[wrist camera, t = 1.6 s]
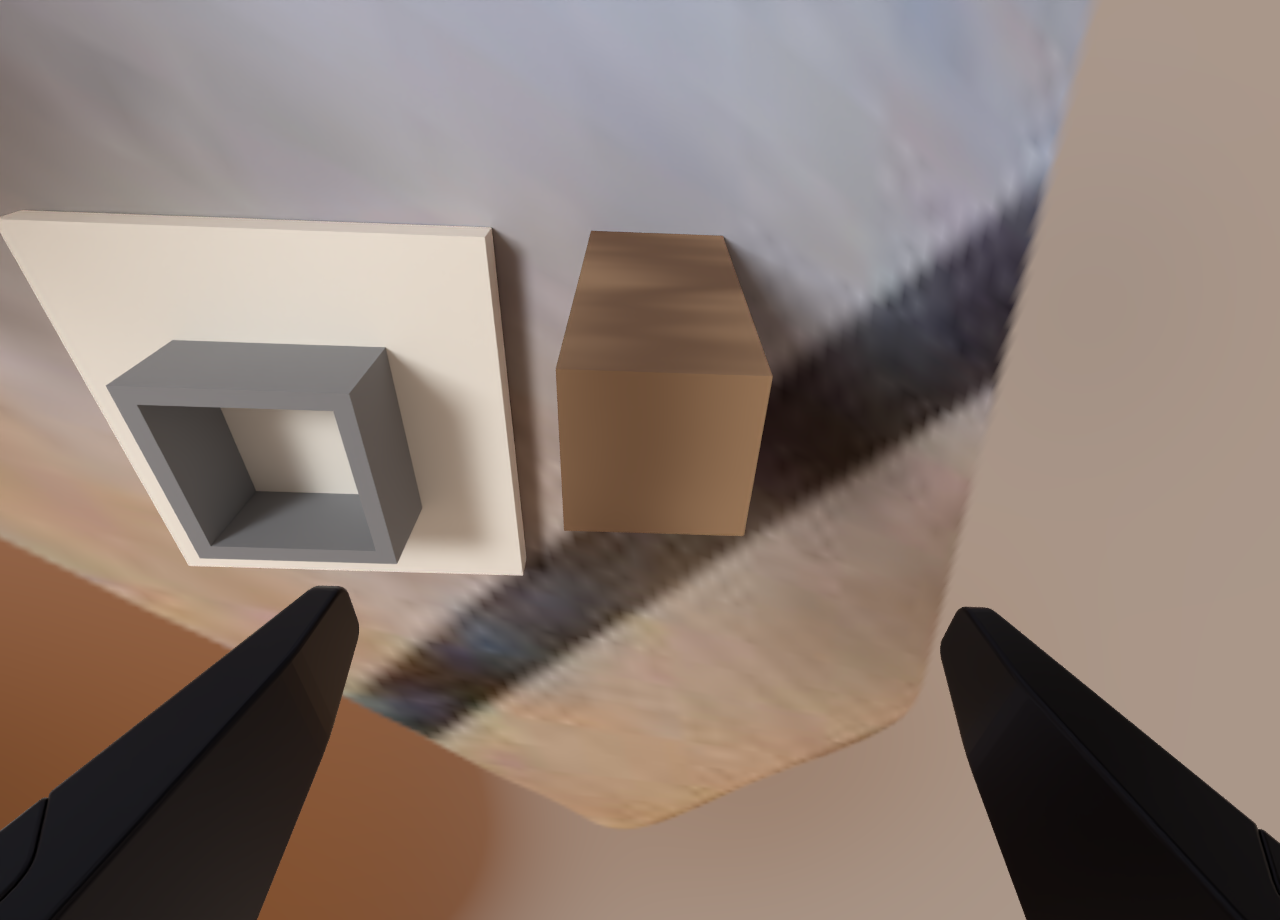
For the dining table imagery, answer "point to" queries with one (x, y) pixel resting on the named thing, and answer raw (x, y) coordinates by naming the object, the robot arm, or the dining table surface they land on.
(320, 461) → the thin cream square plate
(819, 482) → the dining table surface
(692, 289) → the wooden peg
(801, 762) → the dining table surface
